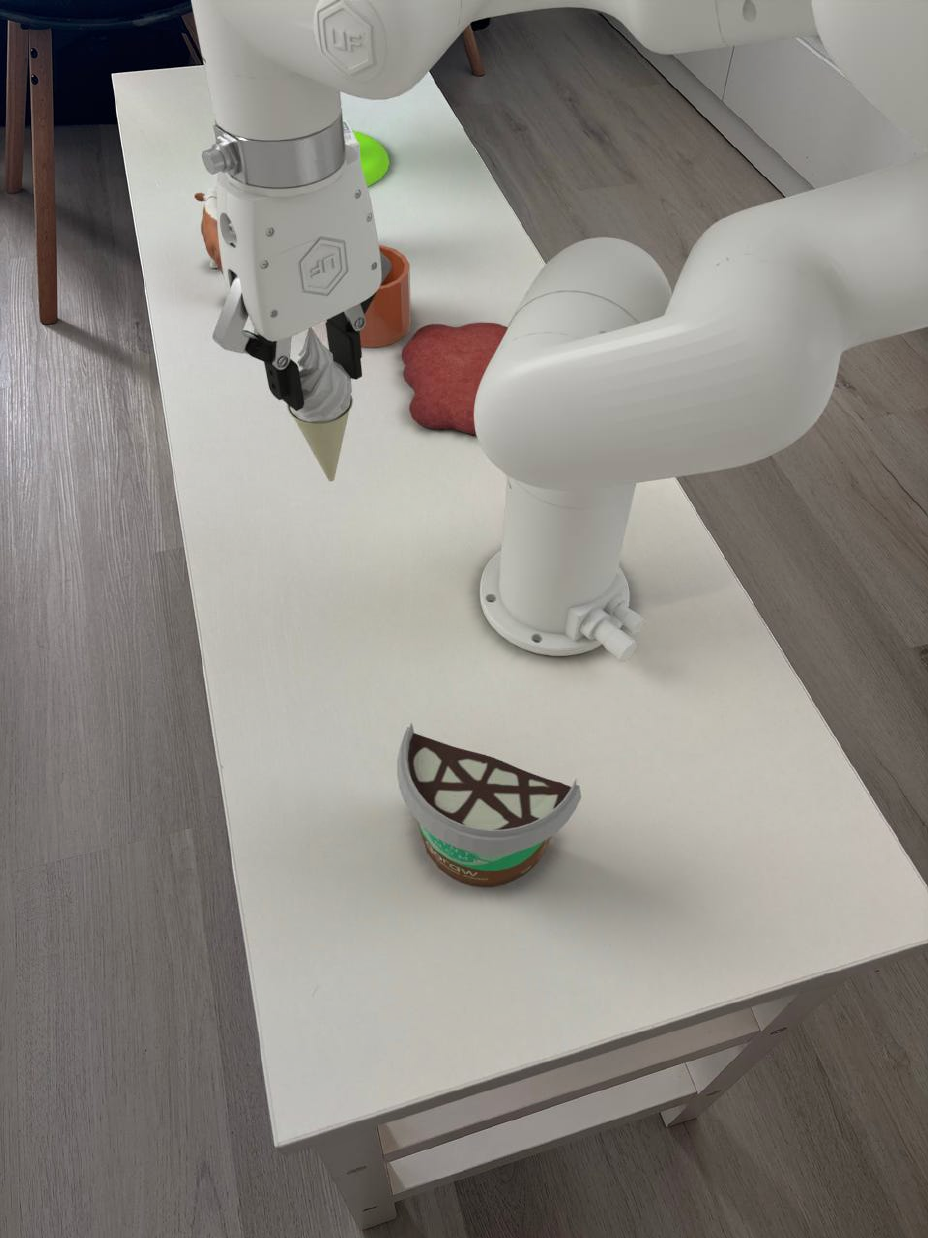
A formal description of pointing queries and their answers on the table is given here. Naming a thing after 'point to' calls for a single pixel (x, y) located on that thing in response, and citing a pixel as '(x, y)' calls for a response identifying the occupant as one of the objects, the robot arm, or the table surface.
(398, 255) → the holder cup
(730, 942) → the table surface
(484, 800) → the food container
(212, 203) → the bull figurine
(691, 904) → the table surface
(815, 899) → the table surface
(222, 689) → the table surface
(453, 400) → the patty
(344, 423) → the ice cream cone
